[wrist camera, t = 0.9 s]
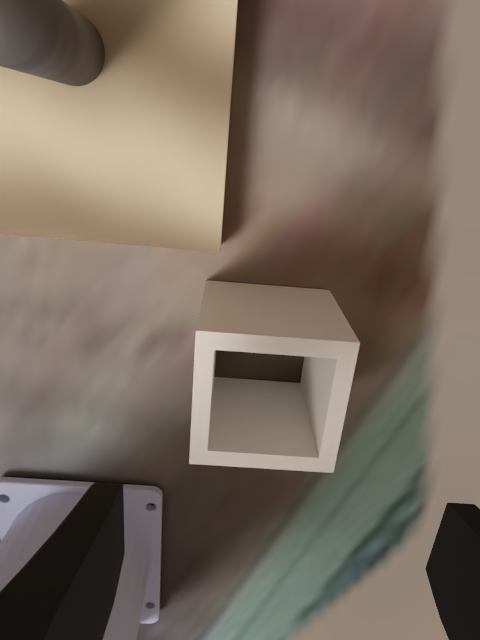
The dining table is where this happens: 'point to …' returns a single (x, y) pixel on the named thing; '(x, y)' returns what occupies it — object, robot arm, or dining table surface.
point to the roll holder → (116, 120)
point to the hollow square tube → (271, 396)
